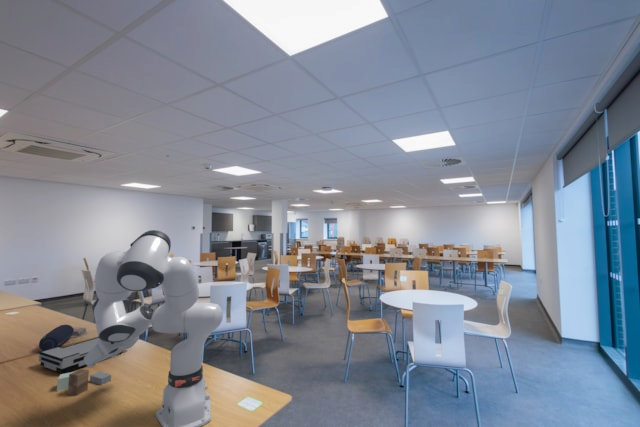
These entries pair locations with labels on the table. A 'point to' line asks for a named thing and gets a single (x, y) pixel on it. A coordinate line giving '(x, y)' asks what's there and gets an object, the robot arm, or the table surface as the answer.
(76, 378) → the walnut column
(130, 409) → the table surface
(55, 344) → the portable speaker
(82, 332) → the packaged product
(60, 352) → the game console
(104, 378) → the grey flat brick
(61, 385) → the sage cube
